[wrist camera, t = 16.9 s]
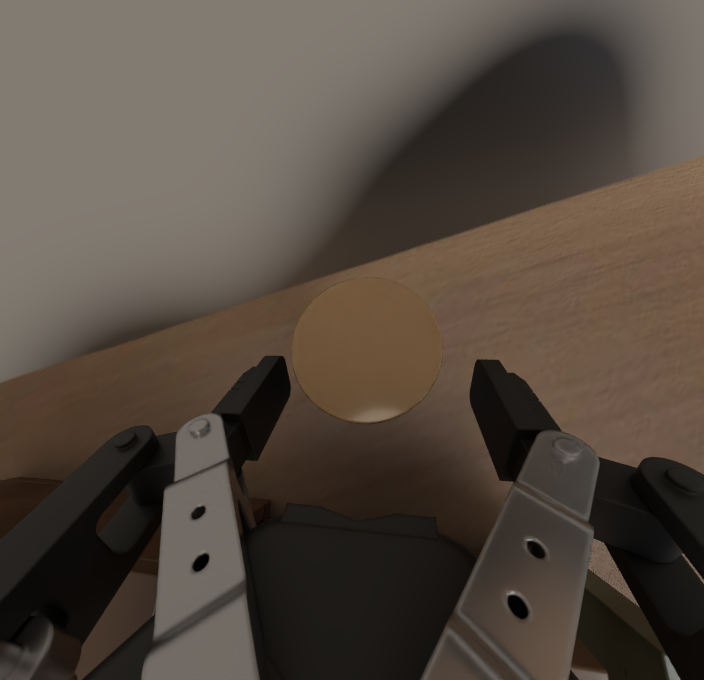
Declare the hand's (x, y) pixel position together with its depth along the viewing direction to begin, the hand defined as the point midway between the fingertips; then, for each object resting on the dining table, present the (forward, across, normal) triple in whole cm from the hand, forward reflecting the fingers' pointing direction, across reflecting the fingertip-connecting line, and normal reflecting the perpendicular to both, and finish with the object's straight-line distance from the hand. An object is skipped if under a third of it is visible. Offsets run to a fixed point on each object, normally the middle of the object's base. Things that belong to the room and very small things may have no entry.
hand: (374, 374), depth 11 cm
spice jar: (+5, 0, +5) cm, 7 cm away
